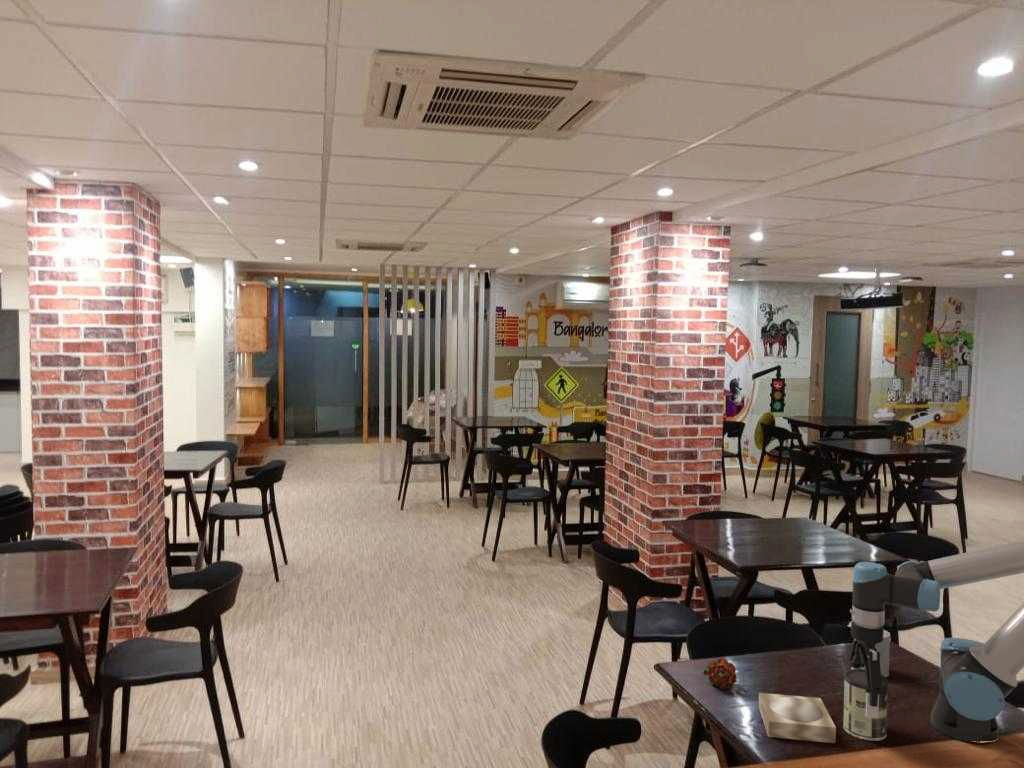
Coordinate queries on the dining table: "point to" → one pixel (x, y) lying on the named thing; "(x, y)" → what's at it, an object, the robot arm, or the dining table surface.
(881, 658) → the white cylinder
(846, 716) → the coffee can
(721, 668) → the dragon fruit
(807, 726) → the stand
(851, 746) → the dining table surface
